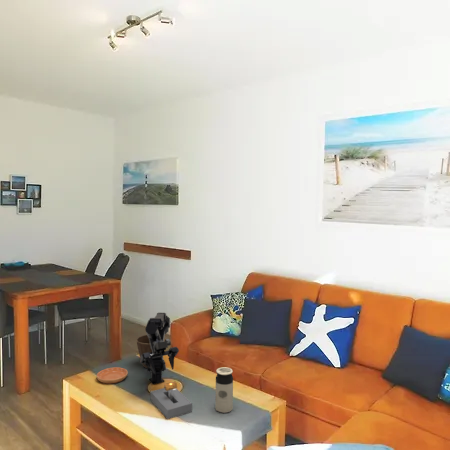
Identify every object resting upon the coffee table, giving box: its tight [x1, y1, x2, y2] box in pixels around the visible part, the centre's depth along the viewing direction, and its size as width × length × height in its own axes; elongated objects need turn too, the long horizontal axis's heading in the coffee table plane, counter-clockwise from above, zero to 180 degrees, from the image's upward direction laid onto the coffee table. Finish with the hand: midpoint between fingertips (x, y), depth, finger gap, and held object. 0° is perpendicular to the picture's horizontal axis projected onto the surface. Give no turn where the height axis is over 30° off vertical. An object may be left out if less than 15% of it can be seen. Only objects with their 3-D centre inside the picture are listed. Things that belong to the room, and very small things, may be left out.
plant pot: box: [136, 334, 152, 369], centre depth 229 cm, size 15×15×16 cm
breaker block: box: [149, 387, 193, 420], centre depth 185 cm, size 20×12×4 cm, turn 32°
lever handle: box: [164, 380, 178, 402], centre depth 185 cm, size 3×5×10 cm
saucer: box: [96, 366, 129, 385], centre depth 213 cm, size 16×16×3 cm
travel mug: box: [214, 366, 234, 414], centre depth 183 cm, size 8×8×18 cm
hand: (164, 371), depth 191 cm, fingers open, 9 cm apart
